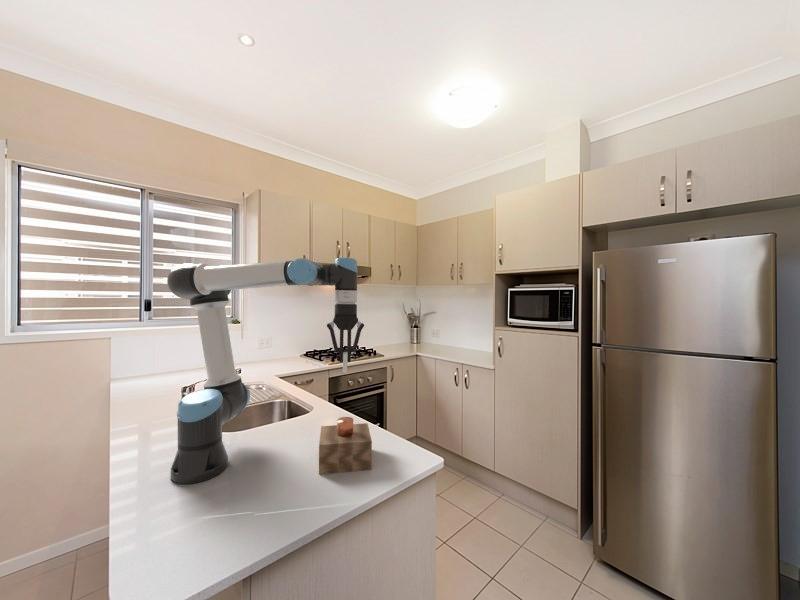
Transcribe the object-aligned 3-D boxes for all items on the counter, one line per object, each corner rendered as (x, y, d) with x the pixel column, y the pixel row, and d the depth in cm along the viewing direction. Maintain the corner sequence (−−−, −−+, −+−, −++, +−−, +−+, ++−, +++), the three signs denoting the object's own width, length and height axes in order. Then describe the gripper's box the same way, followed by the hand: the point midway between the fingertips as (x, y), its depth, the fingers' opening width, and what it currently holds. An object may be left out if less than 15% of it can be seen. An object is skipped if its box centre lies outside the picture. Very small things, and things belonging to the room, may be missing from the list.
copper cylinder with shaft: (337, 456, 103) (337, 423, 102) (337, 448, 108) (337, 417, 108) (353, 454, 104) (353, 422, 103) (352, 447, 109) (352, 416, 109)
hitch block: (318, 474, 97) (319, 445, 97) (321, 452, 111) (321, 426, 111) (371, 469, 100) (371, 441, 100) (367, 448, 114) (367, 423, 114)
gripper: (326, 303, 105) (325, 374, 106) (365, 303, 108) (364, 373, 108) (326, 302, 113) (326, 369, 113) (364, 303, 115) (363, 368, 116)
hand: (345, 371), depth 111 cm, fingers closed
